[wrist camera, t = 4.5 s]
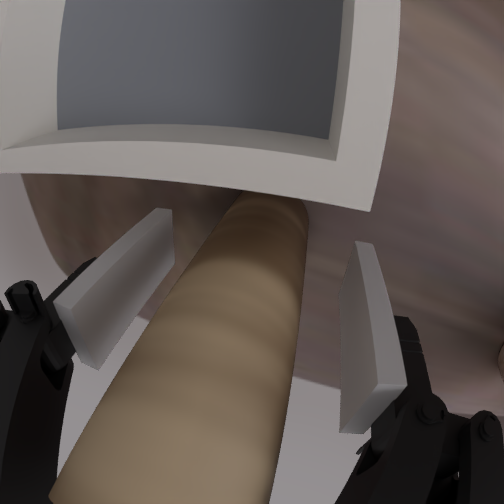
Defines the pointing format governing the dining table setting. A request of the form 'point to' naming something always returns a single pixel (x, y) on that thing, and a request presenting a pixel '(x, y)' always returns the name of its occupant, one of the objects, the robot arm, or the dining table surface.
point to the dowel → (204, 374)
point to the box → (202, 92)
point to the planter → (501, 362)
